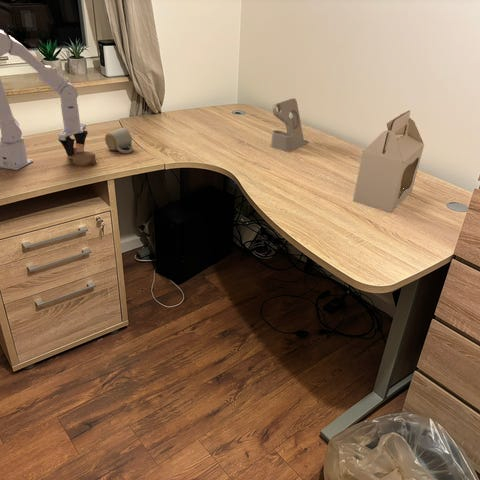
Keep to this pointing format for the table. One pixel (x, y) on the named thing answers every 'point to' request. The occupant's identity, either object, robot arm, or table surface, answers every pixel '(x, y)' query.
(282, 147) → the phone holder
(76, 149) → the cube
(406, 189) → the gable box
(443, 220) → the table surface
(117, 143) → the ceramic mug
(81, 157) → the pedestal
